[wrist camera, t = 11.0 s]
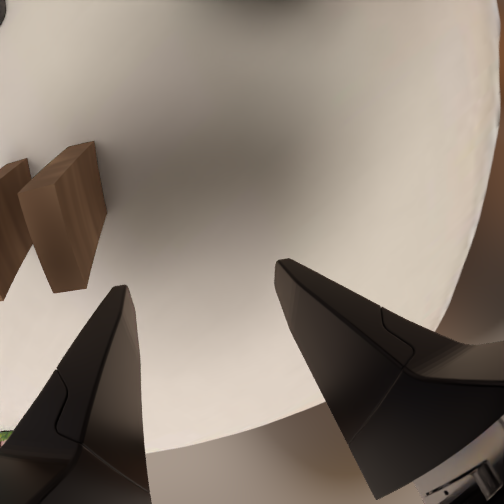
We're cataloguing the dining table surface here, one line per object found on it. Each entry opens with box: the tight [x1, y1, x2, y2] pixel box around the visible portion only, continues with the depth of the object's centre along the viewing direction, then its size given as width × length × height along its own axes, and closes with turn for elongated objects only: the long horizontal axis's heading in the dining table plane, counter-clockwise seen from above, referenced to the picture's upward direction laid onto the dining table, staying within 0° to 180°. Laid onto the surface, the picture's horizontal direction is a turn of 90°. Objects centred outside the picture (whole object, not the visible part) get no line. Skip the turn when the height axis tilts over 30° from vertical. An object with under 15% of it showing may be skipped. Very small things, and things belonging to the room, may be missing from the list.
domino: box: [0, 158, 33, 301], centre depth 12 cm, size 2×5×8 cm, turn 179°
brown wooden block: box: [17, 141, 107, 293], centre depth 14 cm, size 2×5×8 cm, turn 0°
